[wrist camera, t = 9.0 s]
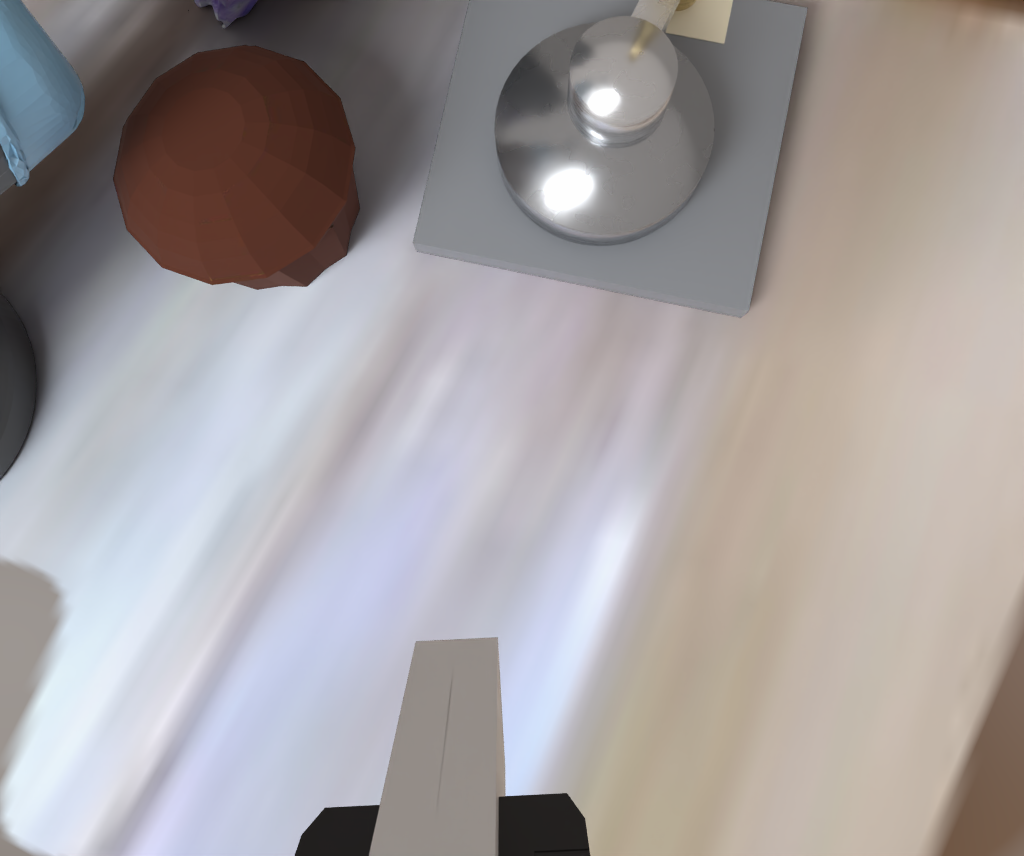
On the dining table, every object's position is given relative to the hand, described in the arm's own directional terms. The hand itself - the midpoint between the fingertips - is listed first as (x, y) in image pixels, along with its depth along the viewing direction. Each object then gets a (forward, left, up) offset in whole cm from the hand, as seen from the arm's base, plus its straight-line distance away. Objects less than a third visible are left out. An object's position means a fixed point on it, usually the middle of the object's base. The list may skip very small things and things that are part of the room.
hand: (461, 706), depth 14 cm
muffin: (-17, +16, -27) cm, 36 cm away
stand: (0, +24, -27) cm, 36 cm away
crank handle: (+1, +25, -25) cm, 35 cm away
